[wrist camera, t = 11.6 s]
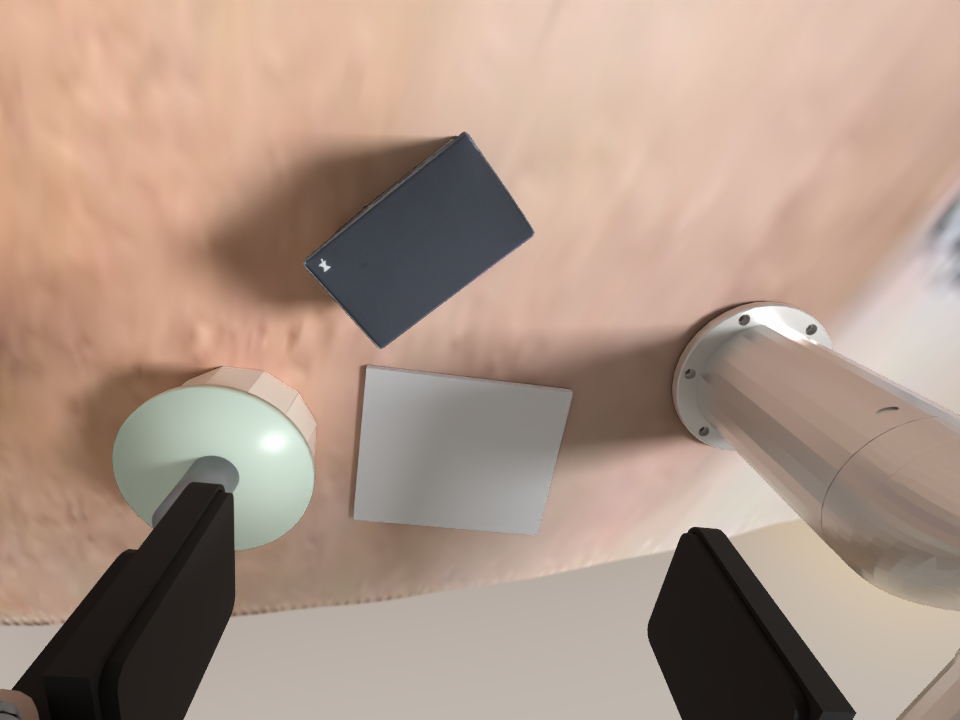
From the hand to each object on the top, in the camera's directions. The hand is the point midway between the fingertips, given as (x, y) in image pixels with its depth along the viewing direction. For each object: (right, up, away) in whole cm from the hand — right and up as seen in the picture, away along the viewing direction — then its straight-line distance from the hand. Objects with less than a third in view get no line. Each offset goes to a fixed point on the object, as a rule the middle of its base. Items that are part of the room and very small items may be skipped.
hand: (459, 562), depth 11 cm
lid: (-18, -3, +25) cm, 31 cm away
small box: (-3, +14, +25) cm, 29 cm away
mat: (-1, -4, +32) cm, 32 cm away
